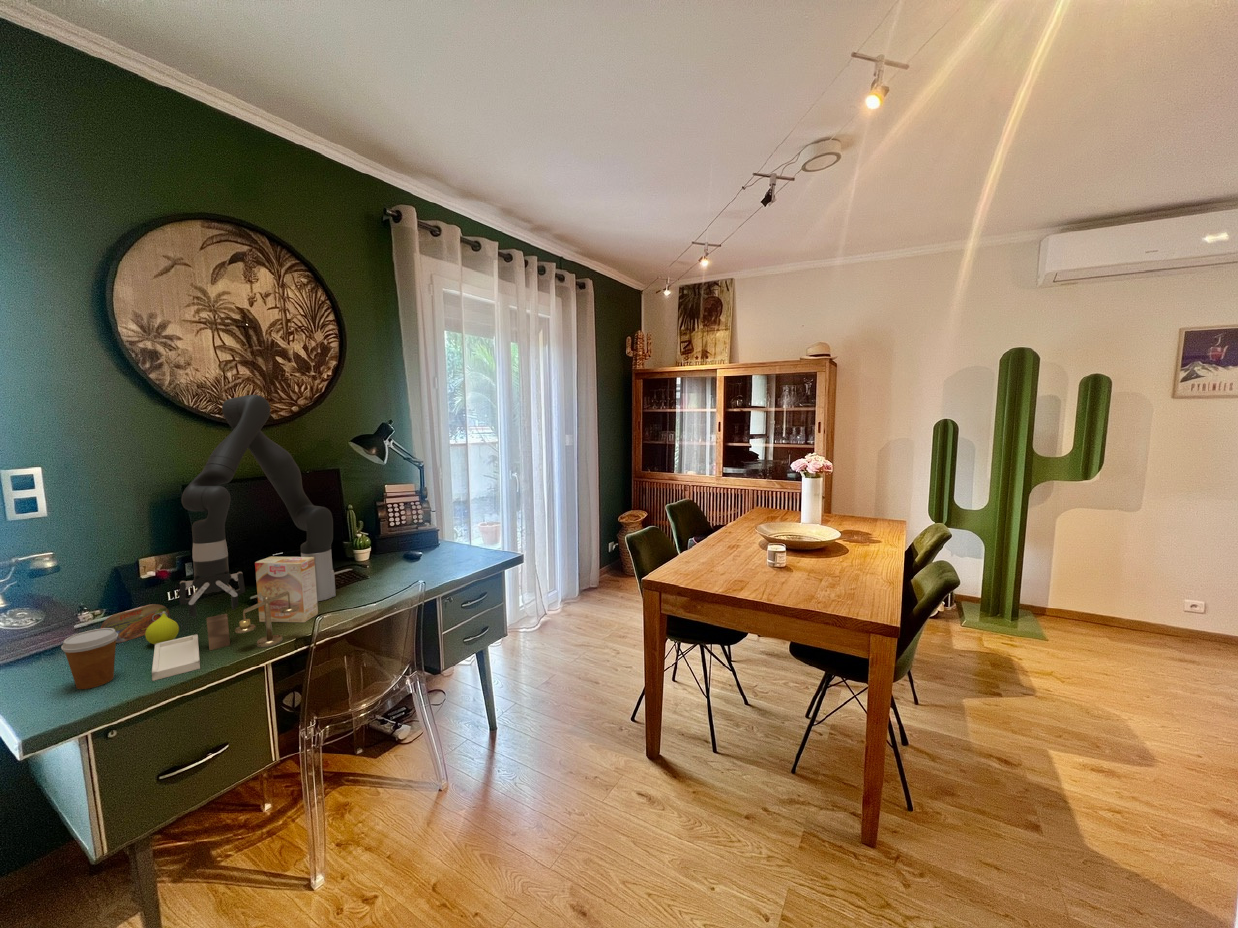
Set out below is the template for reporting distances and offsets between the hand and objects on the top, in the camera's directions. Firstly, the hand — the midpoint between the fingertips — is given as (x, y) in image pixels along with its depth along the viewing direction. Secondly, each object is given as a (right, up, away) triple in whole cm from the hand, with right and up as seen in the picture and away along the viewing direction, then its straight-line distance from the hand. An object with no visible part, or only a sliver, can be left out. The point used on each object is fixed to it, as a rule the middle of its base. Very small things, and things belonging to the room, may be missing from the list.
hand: (214, 612), depth 140 cm
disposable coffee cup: (-14, -12, -18) cm, 26 cm away
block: (+1, -10, +1) cm, 10 cm away
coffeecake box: (+8, -8, +20) cm, 23 cm away
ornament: (-16, -10, +2) cm, 19 cm away
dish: (-4, -10, -7) cm, 13 cm away
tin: (-29, -9, +7) cm, 31 cm away
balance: (+14, -9, +2) cm, 17 cm away
